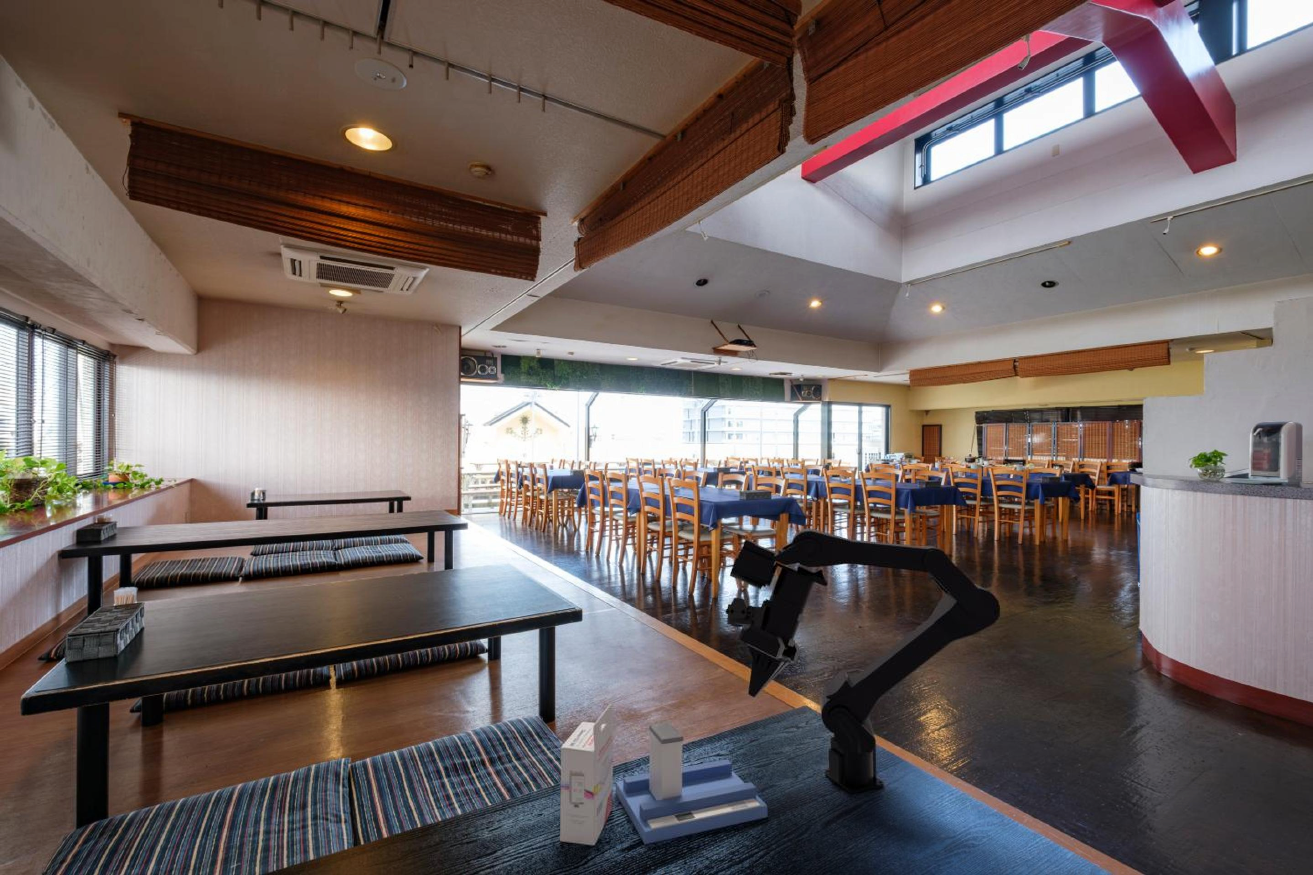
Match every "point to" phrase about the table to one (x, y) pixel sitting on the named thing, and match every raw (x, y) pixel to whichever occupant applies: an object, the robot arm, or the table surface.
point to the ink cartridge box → (587, 780)
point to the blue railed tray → (691, 802)
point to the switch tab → (665, 761)
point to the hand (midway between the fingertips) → (751, 695)
